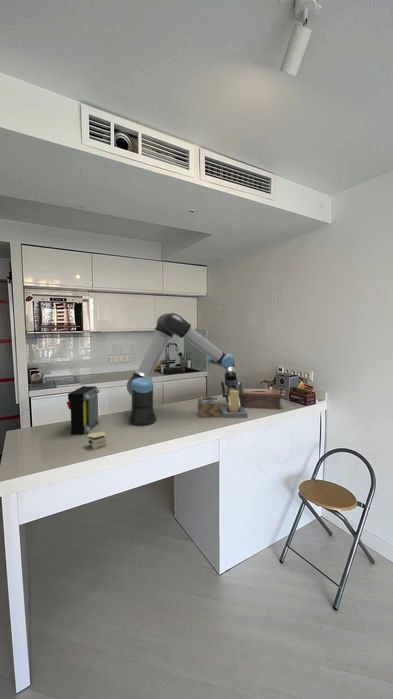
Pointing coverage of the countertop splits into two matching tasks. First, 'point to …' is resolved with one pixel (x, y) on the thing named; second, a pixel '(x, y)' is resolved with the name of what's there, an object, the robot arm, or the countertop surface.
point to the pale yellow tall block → (233, 400)
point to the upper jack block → (208, 407)
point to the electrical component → (83, 409)
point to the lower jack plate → (233, 413)
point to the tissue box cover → (260, 399)
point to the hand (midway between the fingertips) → (234, 406)
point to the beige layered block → (97, 439)
